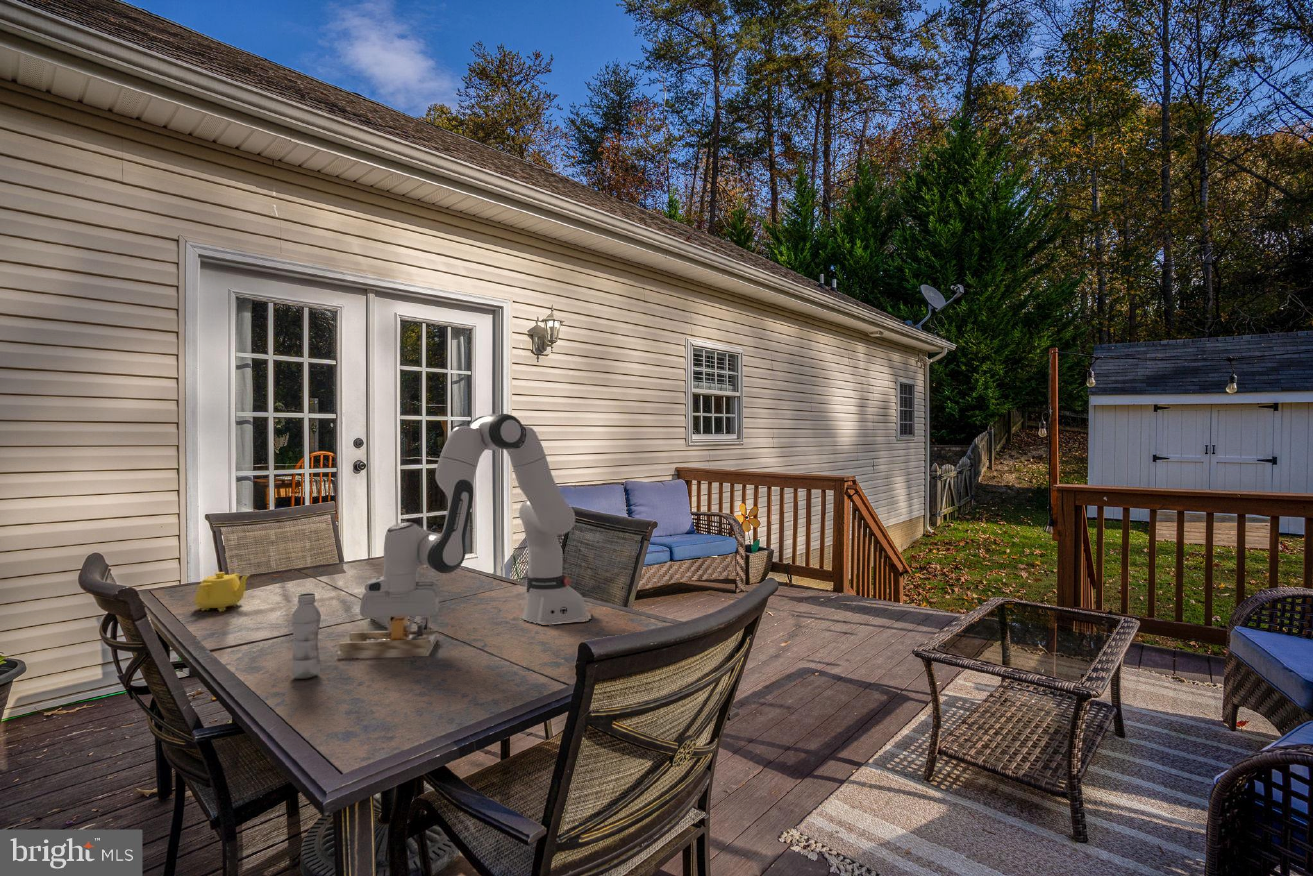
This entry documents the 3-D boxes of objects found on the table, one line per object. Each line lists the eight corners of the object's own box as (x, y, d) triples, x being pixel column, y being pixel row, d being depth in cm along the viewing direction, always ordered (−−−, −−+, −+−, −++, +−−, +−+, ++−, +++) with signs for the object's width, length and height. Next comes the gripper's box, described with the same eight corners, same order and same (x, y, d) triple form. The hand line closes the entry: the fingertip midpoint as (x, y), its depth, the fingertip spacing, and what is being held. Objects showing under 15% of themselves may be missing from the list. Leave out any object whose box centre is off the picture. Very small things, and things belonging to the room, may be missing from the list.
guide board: (437, 639, 186) (437, 627, 186) (428, 656, 172) (428, 643, 172) (352, 642, 182) (353, 629, 182) (336, 659, 168) (337, 646, 168)
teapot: (199, 616, 203) (200, 579, 203) (190, 607, 213) (190, 572, 213) (250, 608, 213) (250, 573, 213) (239, 600, 223) (239, 566, 223)
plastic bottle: (299, 684, 151) (301, 599, 151) (284, 678, 155) (285, 595, 155) (326, 676, 156) (327, 594, 156) (310, 670, 160) (312, 590, 160)
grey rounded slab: (406, 626, 197) (396, 598, 195) (392, 635, 194) (381, 605, 191) (386, 615, 209) (375, 587, 207) (371, 622, 206) (361, 595, 204)
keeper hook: (428, 634, 186) (428, 617, 186) (422, 643, 178) (423, 625, 178) (421, 634, 185) (422, 617, 185) (416, 643, 177) (416, 625, 177)
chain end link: (435, 637, 182) (436, 613, 182) (431, 645, 175) (431, 620, 175) (369, 639, 179) (370, 614, 179) (362, 648, 172) (362, 622, 172)
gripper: (441, 578, 182) (440, 627, 182) (365, 580, 179) (364, 629, 179) (437, 584, 176) (436, 634, 176) (358, 585, 172) (357, 636, 172)
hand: (399, 632), depth 177 cm, fingers closed on chain end link, 3 cm apart
